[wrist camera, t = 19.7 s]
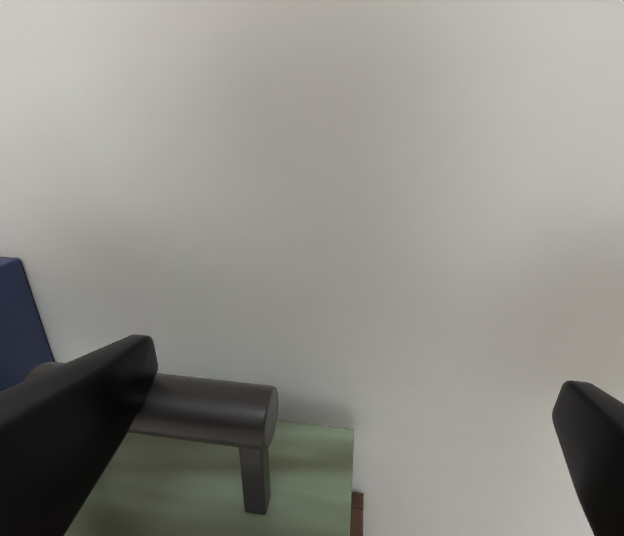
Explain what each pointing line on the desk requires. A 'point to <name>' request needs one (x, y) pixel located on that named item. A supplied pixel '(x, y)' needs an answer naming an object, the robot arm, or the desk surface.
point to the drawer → (219, 467)
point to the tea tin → (18, 327)
